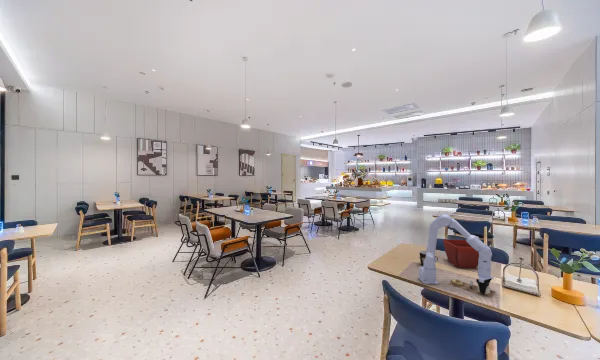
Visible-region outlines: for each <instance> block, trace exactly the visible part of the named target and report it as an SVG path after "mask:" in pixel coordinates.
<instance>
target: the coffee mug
mask: <svg viewBox="0 0 600 360" xmlns="http://www.w3.org/2000/svg"><path fill="white" fill-rule="evenodd" d="M418 254H419V261H420V267H423V265H424V264H423V262H424V260H425V257H426V254H427V250H419V253H418ZM435 258H436V263H437V262H438V261H439V257H438V256H437V255H435Z"/></svg>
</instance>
